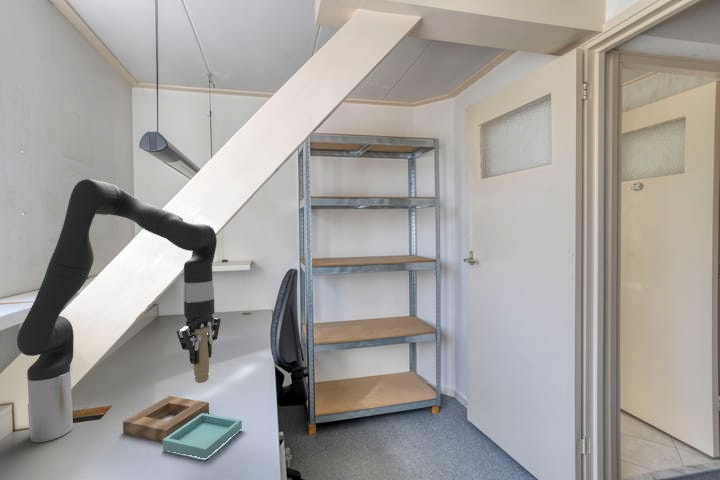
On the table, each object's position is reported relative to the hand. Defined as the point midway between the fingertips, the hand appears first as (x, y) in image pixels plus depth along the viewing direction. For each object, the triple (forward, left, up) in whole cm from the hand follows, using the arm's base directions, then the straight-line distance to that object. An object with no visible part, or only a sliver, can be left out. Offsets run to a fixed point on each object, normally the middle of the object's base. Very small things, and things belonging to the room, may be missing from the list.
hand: (201, 360), depth 96 cm
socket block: (-17, +4, -22) cm, 28 cm away
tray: (0, 0, -22) cm, 22 cm away
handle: (0, 0, -6) cm, 6 cm away
